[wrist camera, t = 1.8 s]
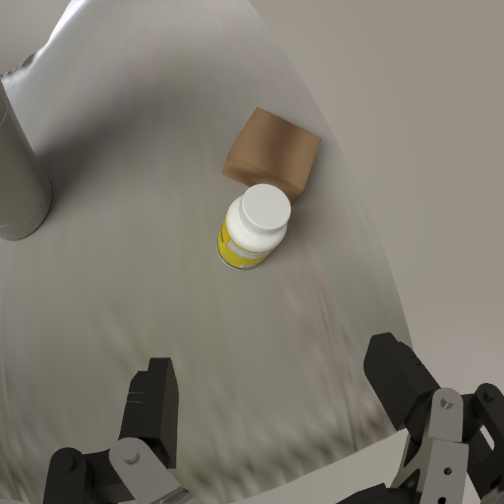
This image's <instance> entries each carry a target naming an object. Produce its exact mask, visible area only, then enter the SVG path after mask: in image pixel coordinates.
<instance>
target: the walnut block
mask: <svg viewBox="0 0 504 504" xmlns="http://www.w3.org/2000/svg"><path fill="white" fill-rule="evenodd" d="M320 141H321V138H319V137H317V136H315V135H313V134H311V133H309V132H308V131H306V130H304V129H302V128H300V127H298V126H296V125H294V124H292V123H290V122H288V121H286V120H284V119H282V118H280V117H278V116H276V115H273V114H271V113H269V112H267V111H265V110H263V109H260V108H258V107H257V108H256V110H255V111H254V113H253V114H252V116H251V118H250V119H249V121H248V122H247V124H246V125H245V127H244V129H243V130H242V132H241V134H240V135H239V137H238V138H237V140H236V142H235V143H234V145H233V147H232V148H231V150H230V152H229V153H228V156H227V159H226V162H225V165H224V168H223V171H222V174H224V175H226V176H228V177H231V178H233V179H235V180H237V181H239V182H241V183H243V184H245V185H248V186H250V187H252V186H254V185H257V184H269V185H272V186H275V187H277V188H278V189H280V190H281V191H282V192H283V193H284V194H285V195H286V196H287V198H288V200H289V202H290V206H291V205H292V204H293V202H294V201H295V200H296V199H297V198H298V196H299V195H300V194H301V193H302V191H303V190H304V188H305V185H306V182H307V179H308V176H309V173H310V170H311V167H312V164H313V161H314V158H315V156H316V153H317V150H318V147H319V144H320Z"/></svg>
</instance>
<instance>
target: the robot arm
mask: <svg viewBox="0 0 504 504" xmlns="http://www.w3.org/2000/svg"><path fill="white" fill-rule="evenodd" d="M51 200H52V187H51V184H50V181H49V180H48V178H47V176H46V174H45V173H44V171H43V169H42V167H41V165H40V163H39V161H38V159H37V157H36V156H35V154H34V152H33V150H32V148H31V146H30V144H29V142H28V140H27V138H26V136H25V134H24V132H23V130H22V128H21V126H20V124H19V121H18V119H17V117H16V115H15V113H14V110H13V108H12V106H11V104H10V101H9V99H8V97H7V94H6V92H5V89H4V87H3V84H2V82H1V79H0V236H1V237H2V238H4V239H7V240H19V239H22V238H24V237H26V236H28V235H29V234H31V233H32V232H34V231H35V230H36V229H37V228H38V227H39V226H40V224H41V223H42V221H43V220H44V219H45V217H46V215H47V213H48V211H49V208H50V205H51ZM363 366H364V372H365V375H366V377H367V379H368V380H369V382H370V384H371V386H372V387H373V389H374V391H375V393H376V395H377V396H378V398H379V400H380V402H381V403H382V405H383V407H384V409H385V411H386V413H387V414H388V416H389V418H390V420H391V422H392V423H393V425H394V427H395V429H396V431H399V430H402V429H404V428H407V430H408V431H409V434H408V436H407V441H406V445H405V448H404V452H403V456H402V460H401V464H400V468H399V471H398V473H397V475H396V477H395V479H394V480H393V482H392V484H391V486H390V488H386V486H385V484H384V483H382V484H379V485H376V486H373V487H370V488H367V489H365V490H362V491H358V492H356V493H354V494H353V495H351V496H349V497H347V498H346V499H344V500H342V501H340V502H338V503H336V504H462V499H463V493H464V487H465V480H466V472H467V473H468V475H469V477H470V479H471V481H472V483H473V485H474V487H475V489H476V492H477V494H478V496H479V498H480V500H481V502H480V504H504V396H503V395H502V393H501V392H500V391H499V389H498V388H497V387H496V386H494V385H492V384H489V383H484V384H481V385H480V386H479V387H478V388H477V390H476V391H475V393H474V394H466V395H460V394H459V393H458V392H456V391H455V390H453V389H450V388H441V387H440V386H439V385H438V383H437V382H436V381H435V379H434V378H433V377H432V375H431V374H430V373H429V372H428V370H427V369H426V367H425V366H424V365H423V364H422V362H421V361H420V360H419V358H417V356H416V354H415V353H414V352H413V351H412V349H411V348H410V347H408V346H407V345H405V344H404V343H402V342H401V341H400V342H398V341H397V340H396V339H395V337H394V336H393V335H392V334H391V333H390V332H387V333H382V334H377V335H373V336H372V337H371V339H370V343H369V346H368V350H367V353H366V356H365V359H364V365H363ZM178 403H179V391H178V384H177V380H176V376H175V372H174V369H173V365H172V361H171V358H151V359H150V361H149V367H148V371H138V372H137V374H136V375H135V376H134V377H133V379H132V380H131V383H130V387H129V394H128V396H127V403H126V406H125V410H124V415H123V420H122V426H121V431H120V436H119V438H118V441H117V442H115V443H114V444H113V445H112V447H111V448H110V449H108V450H105V451H102V452H97V453H91V454H82V453H81V452H80V451H78V450H77V449H74V448H69V447H67V448H62V449H59V450H58V451H56V452H55V453H54V454H53V456H52V458H51V460H50V465H49V470H48V475H47V481H46V486H45V493H44V499H43V504H118V502H124V501H130V500H136V501H137V502H138V503H139V504H201V503H200V502H199V501H198V500H197V499H196V498H195V497H194V496H193V495H192V494H191V493H190V492H189V491H187V490H186V489H184V488H183V487H182V486H181V485H180V483H179V482H178V481H177V480H176V479H175V478H174V477H173V476H172V474H171V473H170V472H169V471H168V468H171V469H176V450H177V422H178ZM483 425H484V426H485V427H486V429H487V430H488V432H489V434H490V436H491V437H492V439H493V441H494V449H493V451H492V449H491V448H490V446H489V444H488V443H487V441H486V439H485V437H484V436H483V434H482V433H481V431H480V428H481V427H482V426H483Z"/></svg>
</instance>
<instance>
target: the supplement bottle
mask: <svg viewBox="0 0 504 504" xmlns="http://www.w3.org/2000/svg"><path fill="white" fill-rule="evenodd" d="M290 214H291V206H290V202H289V200H288V198H287V196H286V195H285V194H284V193H283V192H282V191H281V190H280V189H278V188H277V187H275V186H272V185H269V184H257V185H254V186H252V187H250V188H249V189H248V190H247V191H246V192H245V194H244V195H242V196H240V197H238V198H237V199H236V200H235V201H234V202H233V203H232V204H231V205H230V207H229V209H228V211H227V214H226V216H225V219H224V221H223V224H222V226H221V229H220V232H219V234H218V237H217V242H216V247H217V252H218V254H219V256H220V258H221V259H222V261H223V262H224V263H225V264H226V265H228V266H229V267H231V268H233V269H237V270H249V269H252V268H254V267H256V266H257V265H259V264H260V263H261V262H262V261H263V260H264V259H265V258H266V257H267V256H268V255H269V253H270V252H271V251H272V250H273V249H274V248H275V247H276V246H277V245H278V244H279V243H280V242H281V241H282V239H283V238H284V236H285V234H286V230H287V221H288V220H289V218H290Z"/></svg>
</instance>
